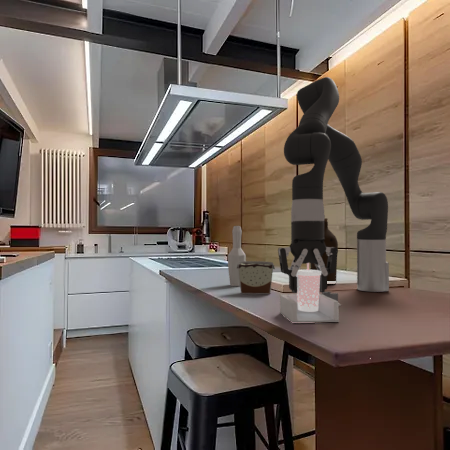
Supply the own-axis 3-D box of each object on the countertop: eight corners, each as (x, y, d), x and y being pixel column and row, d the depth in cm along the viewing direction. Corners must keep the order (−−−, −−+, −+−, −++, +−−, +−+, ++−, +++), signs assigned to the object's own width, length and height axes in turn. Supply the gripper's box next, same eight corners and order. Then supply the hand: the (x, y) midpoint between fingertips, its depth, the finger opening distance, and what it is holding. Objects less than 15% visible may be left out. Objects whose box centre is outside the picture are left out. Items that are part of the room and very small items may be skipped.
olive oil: (342, 283, 144) (341, 218, 145) (331, 286, 136) (330, 217, 136) (316, 280, 151) (316, 219, 151) (304, 283, 142) (304, 218, 143)
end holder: (321, 312, 92) (321, 293, 92) (338, 322, 81) (338, 301, 81) (280, 313, 91) (280, 294, 91) (292, 324, 80) (292, 302, 80)
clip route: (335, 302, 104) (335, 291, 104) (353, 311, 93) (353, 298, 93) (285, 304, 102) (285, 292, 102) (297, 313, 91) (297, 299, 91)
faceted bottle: (234, 283, 142) (234, 226, 142) (248, 285, 138) (248, 225, 139) (224, 285, 137) (225, 225, 137) (239, 287, 133) (239, 225, 134)
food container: (274, 291, 125) (274, 261, 125) (275, 294, 119) (274, 262, 119) (237, 290, 126) (237, 260, 126) (236, 293, 120) (236, 262, 120)
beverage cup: (327, 311, 84) (326, 249, 84) (302, 313, 82) (302, 250, 82) (313, 306, 90) (312, 248, 90) (290, 307, 88) (289, 248, 88)
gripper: (331, 220, 91) (331, 289, 91) (273, 220, 89) (273, 290, 89) (344, 219, 84) (344, 294, 83) (281, 219, 82) (281, 295, 82)
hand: (307, 291), depth 86 cm, fingers closed on beverage cup, 6 cm apart
